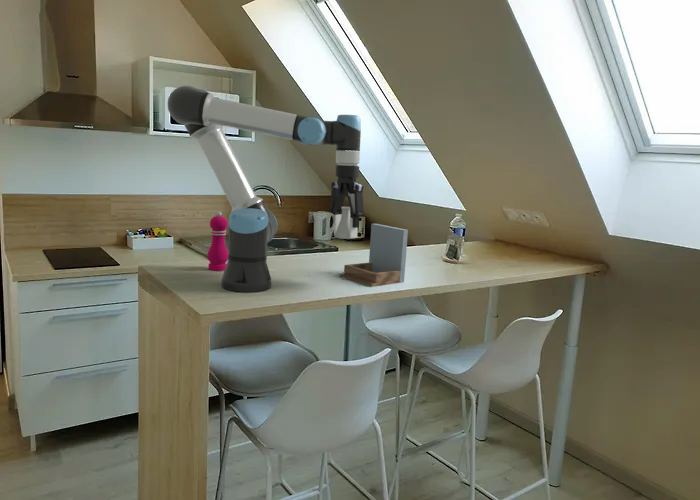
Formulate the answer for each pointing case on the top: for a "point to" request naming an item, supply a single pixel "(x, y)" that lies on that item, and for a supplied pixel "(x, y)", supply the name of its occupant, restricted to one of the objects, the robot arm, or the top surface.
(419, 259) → the top surface
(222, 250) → the pepper mill
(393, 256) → the wall board
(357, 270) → the wooden tray
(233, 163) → the robot arm
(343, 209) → the flask
